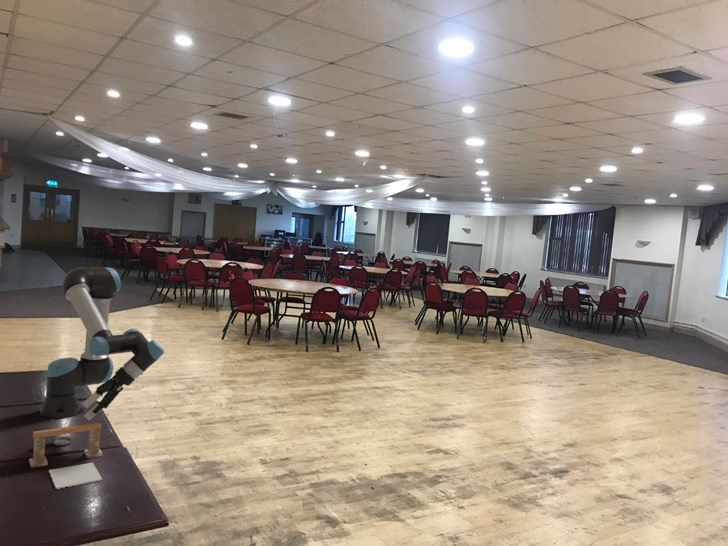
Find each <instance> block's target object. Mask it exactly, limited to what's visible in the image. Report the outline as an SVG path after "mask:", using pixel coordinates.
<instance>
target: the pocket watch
mask: <svg viewBox="0 0 728 546" xmlns="http://www.w3.org/2000/svg"><path fill="white" fill-rule="evenodd" d="M51 421H52V424H51V425H50V427H49V429H56V426H55V421H54V418H51ZM56 437H57V435H54V436H49V441H50V443H51V444H52V445H54V446H67V445H69V444H71V443H72V442H73V439H72V438H70V437H68V436H67V437H66V436H65V437H64V436H60V437H57V438H56Z"/></svg>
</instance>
